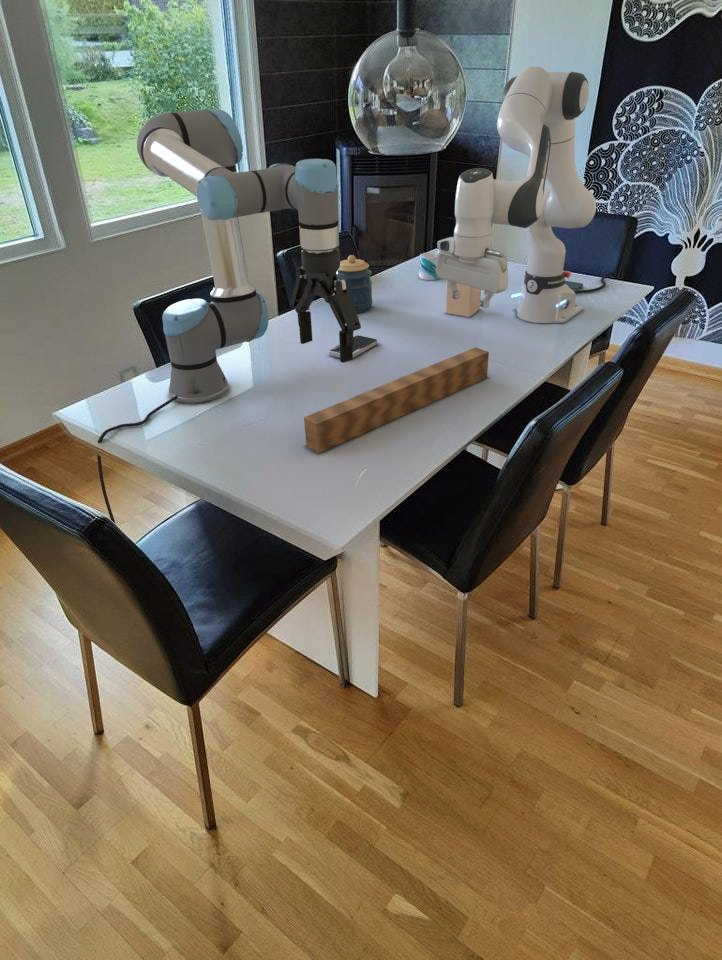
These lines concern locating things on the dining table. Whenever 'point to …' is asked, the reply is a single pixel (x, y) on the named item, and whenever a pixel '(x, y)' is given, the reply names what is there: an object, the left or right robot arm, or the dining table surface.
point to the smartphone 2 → (574, 285)
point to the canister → (357, 282)
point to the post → (393, 399)
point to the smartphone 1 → (356, 346)
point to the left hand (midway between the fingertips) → (325, 351)
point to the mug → (428, 266)
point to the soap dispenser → (463, 300)
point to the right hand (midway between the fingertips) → (469, 302)
